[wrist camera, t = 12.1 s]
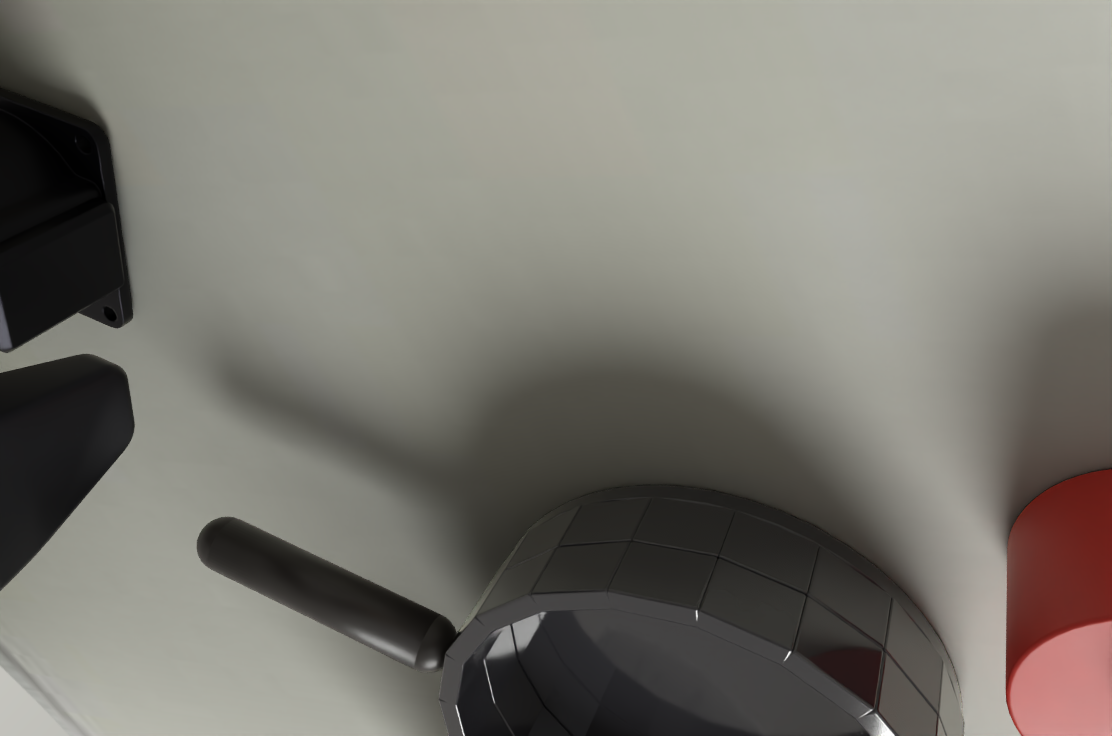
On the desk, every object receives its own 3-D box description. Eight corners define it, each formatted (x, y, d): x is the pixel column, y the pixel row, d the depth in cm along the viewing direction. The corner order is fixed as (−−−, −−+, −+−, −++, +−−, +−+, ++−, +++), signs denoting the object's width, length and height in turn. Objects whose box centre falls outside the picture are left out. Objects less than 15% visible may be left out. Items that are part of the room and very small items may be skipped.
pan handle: (222, 534, 28) (186, 569, 27) (220, 497, 27) (182, 532, 26) (465, 650, 26) (438, 694, 25) (471, 615, 25) (442, 659, 24)
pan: (479, 699, 32) (421, 799, 29) (537, 410, 24) (466, 506, 21) (853, 882, 29) (834, 1017, 26) (1062, 623, 21) (1069, 773, 18)
